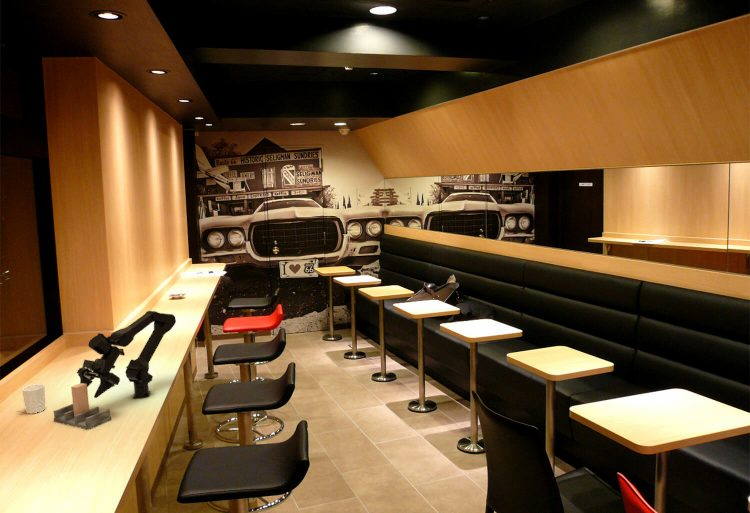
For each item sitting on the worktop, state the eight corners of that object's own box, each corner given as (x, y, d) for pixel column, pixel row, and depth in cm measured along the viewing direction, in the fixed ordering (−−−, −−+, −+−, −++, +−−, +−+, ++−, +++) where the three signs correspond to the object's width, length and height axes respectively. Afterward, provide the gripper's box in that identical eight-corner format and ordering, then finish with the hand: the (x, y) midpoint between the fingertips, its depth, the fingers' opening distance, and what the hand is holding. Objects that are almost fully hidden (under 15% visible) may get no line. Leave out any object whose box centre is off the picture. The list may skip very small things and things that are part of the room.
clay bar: (84, 414, 238) (81, 382, 236) (89, 416, 236) (86, 384, 235) (74, 419, 234) (71, 386, 232) (79, 420, 232) (76, 387, 231)
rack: (76, 411, 244) (75, 402, 244) (111, 419, 235) (110, 409, 235) (53, 421, 235) (52, 410, 235) (88, 429, 226) (87, 419, 226)
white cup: (22, 415, 242) (19, 391, 241) (27, 408, 249) (25, 385, 248) (44, 413, 244) (41, 389, 243) (49, 406, 252) (46, 383, 250)
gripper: (78, 348, 243) (56, 383, 235) (110, 353, 235) (88, 390, 227) (97, 361, 251) (76, 395, 243) (129, 366, 243) (108, 402, 235)
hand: (86, 395), depth 237 cm, fingers open, 9 cm apart
